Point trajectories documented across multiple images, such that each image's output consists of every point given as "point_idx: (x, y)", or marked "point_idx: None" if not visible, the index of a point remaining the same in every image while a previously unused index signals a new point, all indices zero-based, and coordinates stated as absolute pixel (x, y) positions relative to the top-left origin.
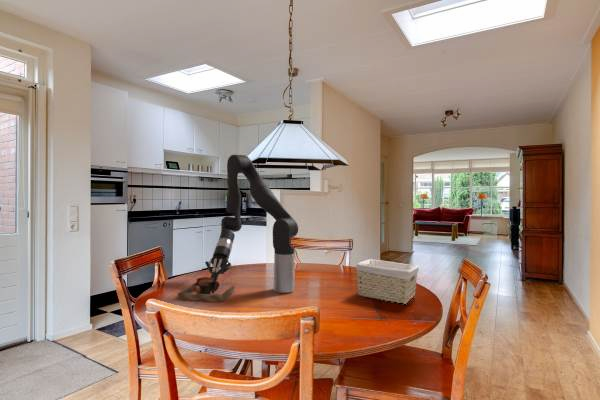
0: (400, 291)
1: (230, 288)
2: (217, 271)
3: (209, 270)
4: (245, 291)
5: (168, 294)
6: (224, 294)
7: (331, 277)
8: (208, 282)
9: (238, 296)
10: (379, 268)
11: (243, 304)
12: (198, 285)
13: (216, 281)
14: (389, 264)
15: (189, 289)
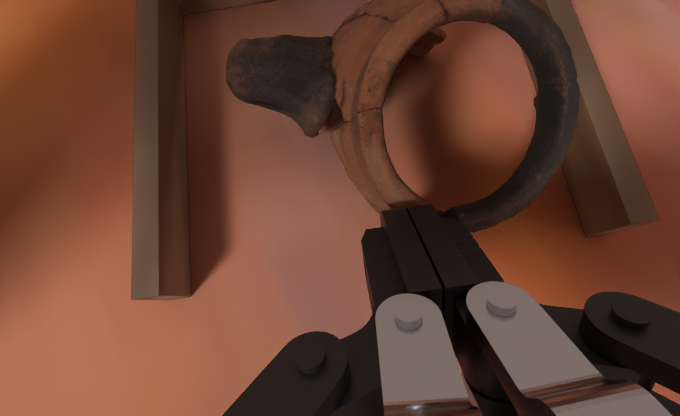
0: None
1: (141, 179)
2: (391, 311)
3: (615, 294)
4: (54, 340)
5: (675, 16)
6: (137, 2)
7: None
8: (351, 23)
9: (84, 164)
10: None
11: (5, 14)
12: (531, 142)
13: (247, 40)
14: None
15: None
